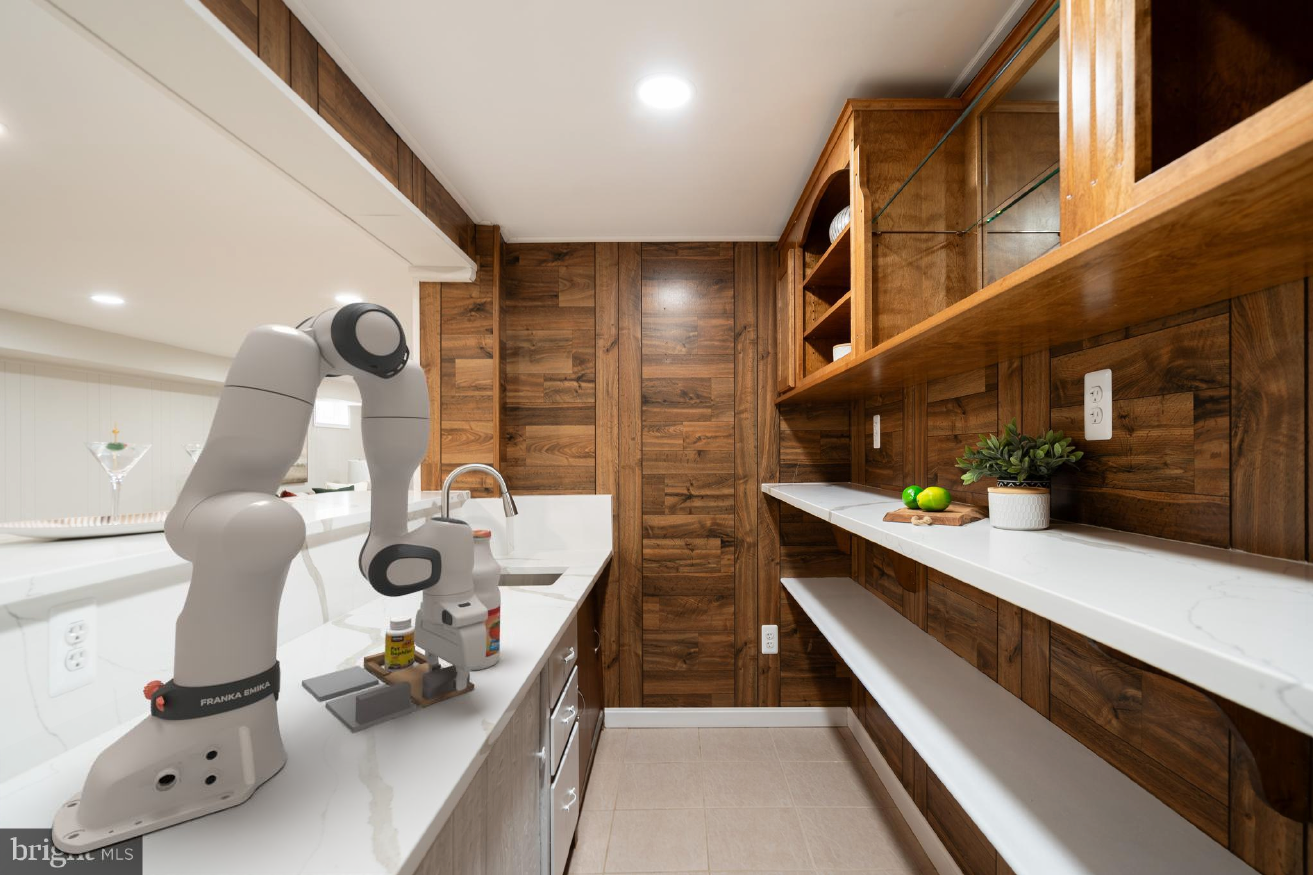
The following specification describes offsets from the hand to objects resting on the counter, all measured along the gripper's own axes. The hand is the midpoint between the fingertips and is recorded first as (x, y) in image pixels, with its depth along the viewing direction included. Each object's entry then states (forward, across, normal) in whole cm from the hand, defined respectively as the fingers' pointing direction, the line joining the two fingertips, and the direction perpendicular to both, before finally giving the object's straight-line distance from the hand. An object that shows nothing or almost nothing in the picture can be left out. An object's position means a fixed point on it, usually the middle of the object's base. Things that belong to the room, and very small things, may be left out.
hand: (446, 681), depth 96 cm
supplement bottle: (+3, -20, 0) cm, 20 cm away
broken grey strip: (+3, -13, -11) cm, 17 cm away
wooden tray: (+3, -13, 0) cm, 13 cm away
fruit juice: (+3, -10, +12) cm, 16 cm away
